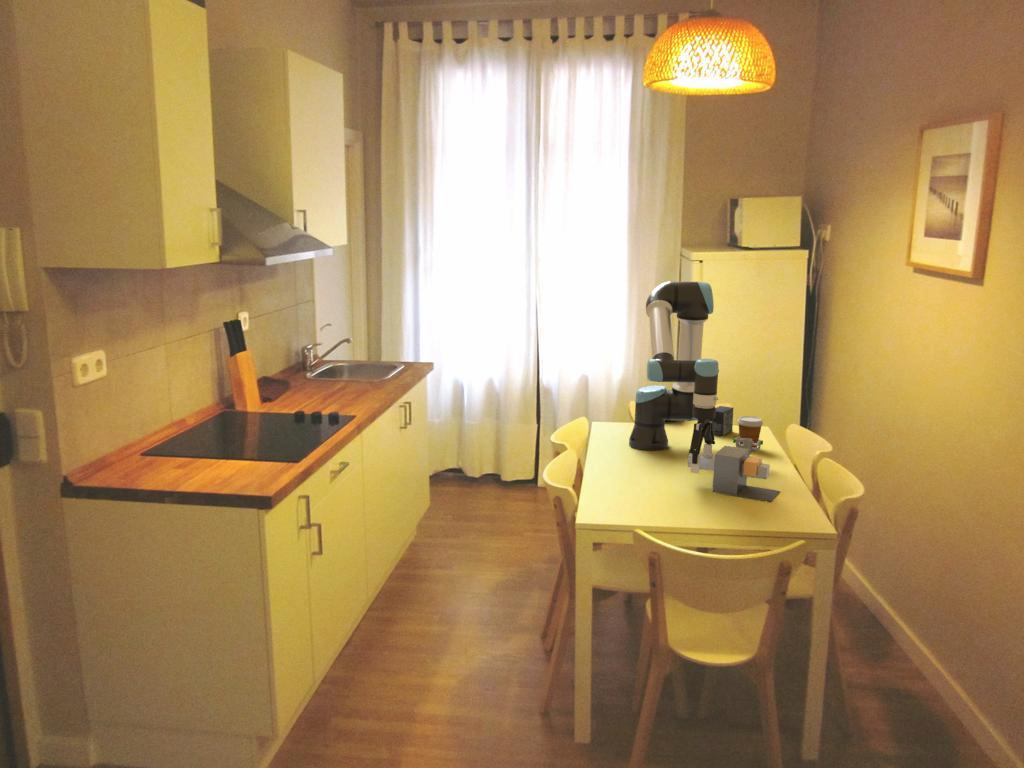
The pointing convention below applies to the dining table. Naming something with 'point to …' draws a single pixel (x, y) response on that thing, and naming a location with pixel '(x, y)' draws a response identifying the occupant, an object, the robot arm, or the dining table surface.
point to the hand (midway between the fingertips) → (701, 467)
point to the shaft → (762, 468)
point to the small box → (723, 421)
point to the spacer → (751, 465)
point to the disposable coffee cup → (750, 428)
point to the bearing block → (729, 470)
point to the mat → (758, 493)
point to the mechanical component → (747, 444)
